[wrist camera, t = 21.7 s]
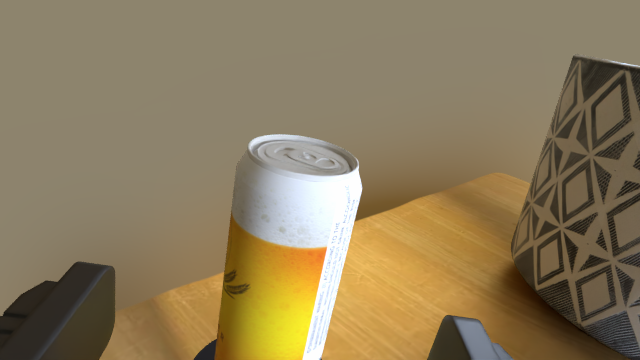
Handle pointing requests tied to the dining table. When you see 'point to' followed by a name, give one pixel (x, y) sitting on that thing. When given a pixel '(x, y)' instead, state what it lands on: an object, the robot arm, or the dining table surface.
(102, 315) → the robot arm
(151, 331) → the dining table surface
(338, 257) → the beer can
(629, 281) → the planter
